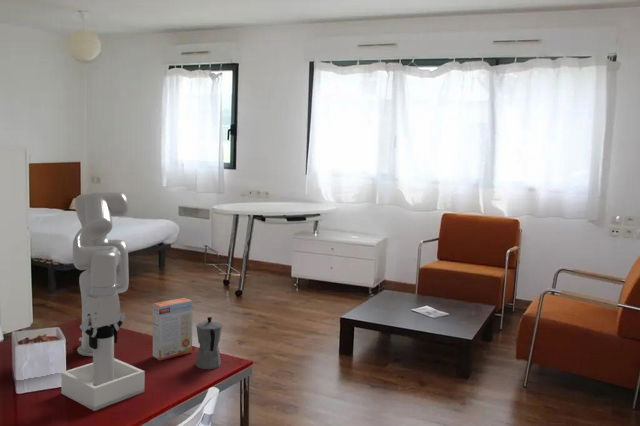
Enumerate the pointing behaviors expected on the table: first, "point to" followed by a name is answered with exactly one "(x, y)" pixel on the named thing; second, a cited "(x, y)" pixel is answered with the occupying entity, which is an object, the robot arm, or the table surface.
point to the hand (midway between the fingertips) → (103, 344)
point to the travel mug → (103, 356)
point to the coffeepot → (208, 344)
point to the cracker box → (172, 328)
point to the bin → (102, 385)
